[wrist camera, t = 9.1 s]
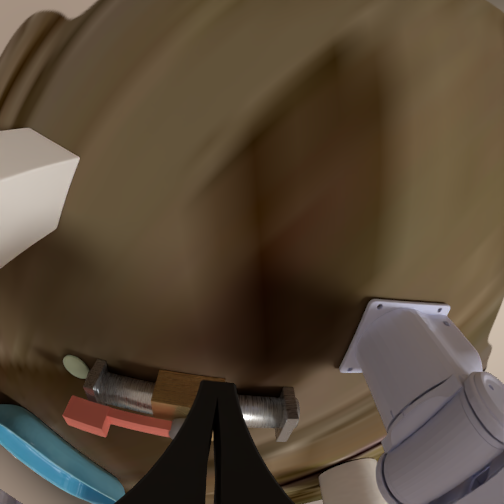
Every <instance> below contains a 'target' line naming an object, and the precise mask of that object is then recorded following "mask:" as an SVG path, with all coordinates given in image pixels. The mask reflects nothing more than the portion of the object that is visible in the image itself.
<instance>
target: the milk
mask: <svg viewBox="0 0 504 504" xmlns="http://www.w3.org/2000/svg"><path fill="white" fill-rule="evenodd" d="M79 160H80V157H78V156H77V155H75V154H73V153H71V152H70V151H68V150H66V149H65V148H63V147H61V146H60V145H58V144H56V143H54V142H53V141H51V140H49V139H48V138H46V137H44V136H42V135H41V134H39V133H37V132H36V131H34V130H32V129H31V128H21V129H13V130H5V131H0V269H1V268H2V267H3V266H4V265H6V264H7V263H8V262H10V261H11V260H12V259H14V258H15V257H16V256H18V255H19V254H20V253H22V252H23V251H25V250H26V249H27V248H29V247H30V246H32V245H33V244H34V243H36V242H37V241H39V240H40V239H42V238H43V237H45V236H46V235H48V234H49V233H51V232H52V231H54V230H55V229H56V228H57V226H58V222H59V219H60V215H61V212H62V208H63V205H64V202H65V199H66V196H67V193H68V190H69V187H70V184H71V181H72V178H73V175H74V173H75V170H76V167H77V165H78V162H79Z"/></svg>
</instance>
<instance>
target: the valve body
mask: <svg viewBox="0 0 504 504" xmlns="http://www.w3.org/2000/svg"><path fill="white" fill-rule="evenodd" d="M202 380H210V381H218V382H225V379H223V378H214V377H206V376H199V375H192V374H185V373H179V372H173V371H167V370H162V369H160V370H159V373H158V377H157V380H156V383H153V382H148V381H143V380H139V379H134V378H130V377H125V376H121V375H117V374H113V373H110V372H109V371H108V367H107V363H106V361H103V360H100V359H97V360H96V362H95V364H94V366H93V368H92V369H91V370H90V371H89V372H88V374H87V377H86V382H85V384H84V386H83V388H84V390H85V393H86V395H87V398H88V400H89V401H91V402H95V403H98V404H101V405H105V406H107V404H111V405H114V406H118V407H122V408H126V409H130V410H134V411H138V412H143V413H147V414H152V415H153V416H154V418H157V419H162V420H168V421H172V420H174V419H177V418H186V417H187V415H188V413H189V411H190V409H191V407H192V405H193V402H194V400H195V398H196V395H197V392H198V389H199V386H200V381H202ZM238 400H239V404H240V407H241V411H242V414H243V417H244V420H245V422H246V425H247V427H254V428H275V434H276V442H286V441H287V439H288V438H289V436H290V434H291V432H292V431H293V429H294V428H296V426H297V424H298V421H299V414H300V407H299V402H298V399H297V398H295V394H294V388H293V387H283V389H282V391H281V394H280V397H263V396H248V395H238ZM211 441H214V440H213V434H212V439H211Z"/></svg>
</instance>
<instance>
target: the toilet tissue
mask: <svg viewBox="0 0 504 504" xmlns="http://www.w3.org/2000/svg"><path fill="white" fill-rule="evenodd" d="M376 465H377V461H376V460H375V459H372V458H367V459H359V460H355V461H351V462H347V463H344V464H341V465H338V466H336V467H333V468H331V469H329V470H327V471H325V472H323V473H322V474H321V475H320V476H319V483H320V490H321V495H322V500H323V504H388V503H387V502H386V501H385V499H384V498H383V497H382V495H381V493H380V491H379V489H378V486H377V482H376Z"/></svg>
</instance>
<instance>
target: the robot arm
mask: <svg viewBox="0 0 504 504" xmlns="http://www.w3.org/2000/svg"><path fill="white" fill-rule="evenodd" d="M379 304H381V305H380V306H379V307H377V306H378V305H379ZM449 310H450V306H449V305H448V304H439V303H424V302H409V301H396V300H384V299H372V300H370V301H369V303H368V305H367V307H366V310H365V312H364V314H363V317H362V319H361V321H360V324H359V326H358V328H357V331H356V333H355V335H354V337H353V340H352V342H351V344H350V346H349V348H348V350H347V352H346V355H345V357H344V359H343V361H342V363H341V365H340V367H339V369H340V372H341V373H361V372H363V375H364V377H365V379H366V382H367V384H368V387H369V389H370V391H371V394H372V396H373V399H374V401H375V404H376V406H377V408H378V411H379V413H380V416H381V418H382V421H383V424H384V426H385V429H386V431H387V436H386V437H385V438H384V439H383V440H382V441H381V443H382V445H383V448H384V451H385V452H384V453H383V454H382V455H381V456H380V458H379V460H378V462H377V465H376V482H377V486H378V489H379V491H380V493H381V495H382V497H383V498H384V499H385V501H386V502H387V503H388V504H504V384H503V383H502V382H501V381H500V380H499V379H497V378H496V377H495V376H493V375H492V374H490V373H488V372H482V363H481V359H480V356H479V354H478V352H477V351H476V349H475V348H474V347H473V346H472V345H471V343H470V342H469V341H468V340H467V339H466V337H465V336H464V335H463V334H462V333H461V331H460V330H459V329H458V328H457V327H456V326H455V324H454V323H453V322H452V321H451V320H450V319H449V318H448V317H447V314H448V312H449ZM212 434H213V440H214V464H215V491H214V504H295V503H294V502H293V501H292V500H291V499H290V498H289V497H288V495H287V494H286V493H285V492H284V490H283V489H282V488H281V486H280V485H279V484H278V482H277V481H276V480H275V478H274V477H273V475H272V474H271V472H270V471H269V469H268V468H267V466H266V464H265V463H264V461H263V459H262V457H261V456H260V454H259V452H258V450H257V448H256V446H255V444H254V442H253V440H252V437H251V435H250V433H249V430H248V428H247V425H246V422H245V420H244V417H243V414H242V411H241V407H240V404H239V400H238V395H237V389H236V385H235V384H234V383H227V382H218V381H210V380H202V381H200V386H199V389H198V392H197V395H196V398H195V400H194V402H193V405H192V407H191V409H190V411H189V413H188V415H187V417H186V419H185V421H184V423H183V424H182V426H181V428H180V429H179V431H178V433H177V434H176V436H175V438H174V439H173V441H172V442H171V444H170V445H169V446H168V448H167V449H166V451H165V452H164V453H163V455H162V456H161V457H160V458H159V460H158V461H157V462H156V463H155V465H154V466H153V467H152V468H151V469H150V470H149V472H148V473H147V474H146V475H145V476H144V477H143V478H142V479H141V480H140V481H139V482H138V483H137V484H136V485H135V486H134V487H133V488H132V489H131V490H130V491H128V492H127V493H126V494H125V495H124V496H122V497H121V498H120V499H119V500H118V501H116V502H115V503H114V504H205V494H206V475H207V462H208V456H209V451H210V445H211V439H212ZM0 504H22V503H21V502H19V501H17V500H16V499H15V498H13V497H12V496H10V495H8V494H7V493H5V492H4V491H3V490H1V489H0Z"/></svg>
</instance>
